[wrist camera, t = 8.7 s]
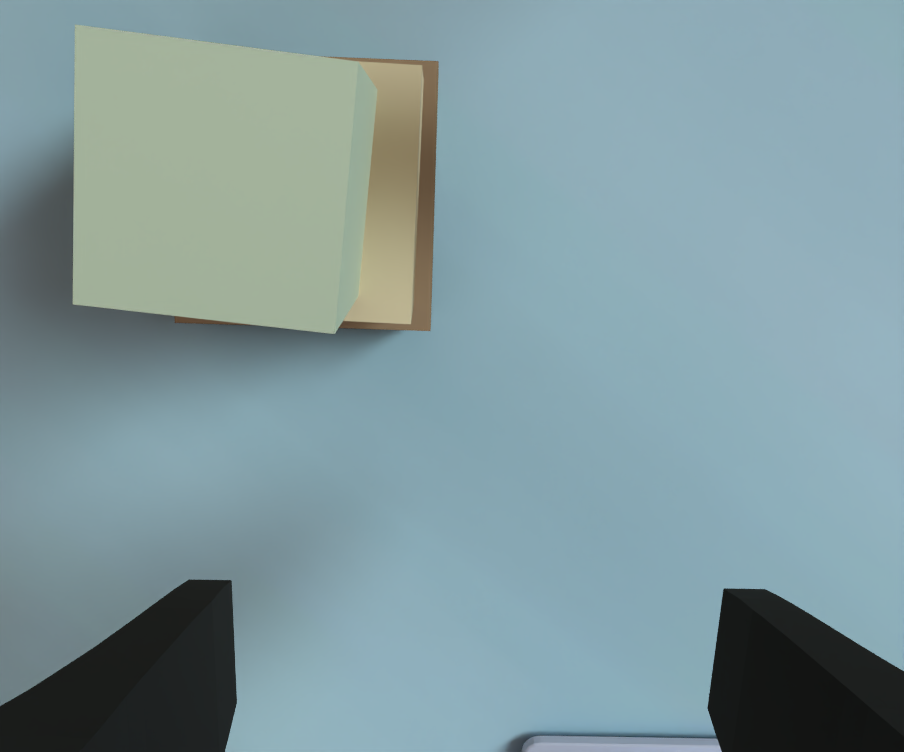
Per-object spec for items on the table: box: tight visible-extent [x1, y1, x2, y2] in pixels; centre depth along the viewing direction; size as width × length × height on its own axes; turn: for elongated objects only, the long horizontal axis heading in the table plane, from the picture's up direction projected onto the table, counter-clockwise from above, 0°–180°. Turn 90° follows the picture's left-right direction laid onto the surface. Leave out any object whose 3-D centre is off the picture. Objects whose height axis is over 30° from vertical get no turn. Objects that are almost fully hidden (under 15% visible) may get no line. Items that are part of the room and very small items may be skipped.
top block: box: [73, 25, 378, 334], centre depth 14 cm, size 4×4×4 cm
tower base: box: [175, 57, 438, 331], centre depth 20 cm, size 6×6×2 cm
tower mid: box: [343, 61, 424, 324], centre depth 17 cm, size 5×5×2 cm
